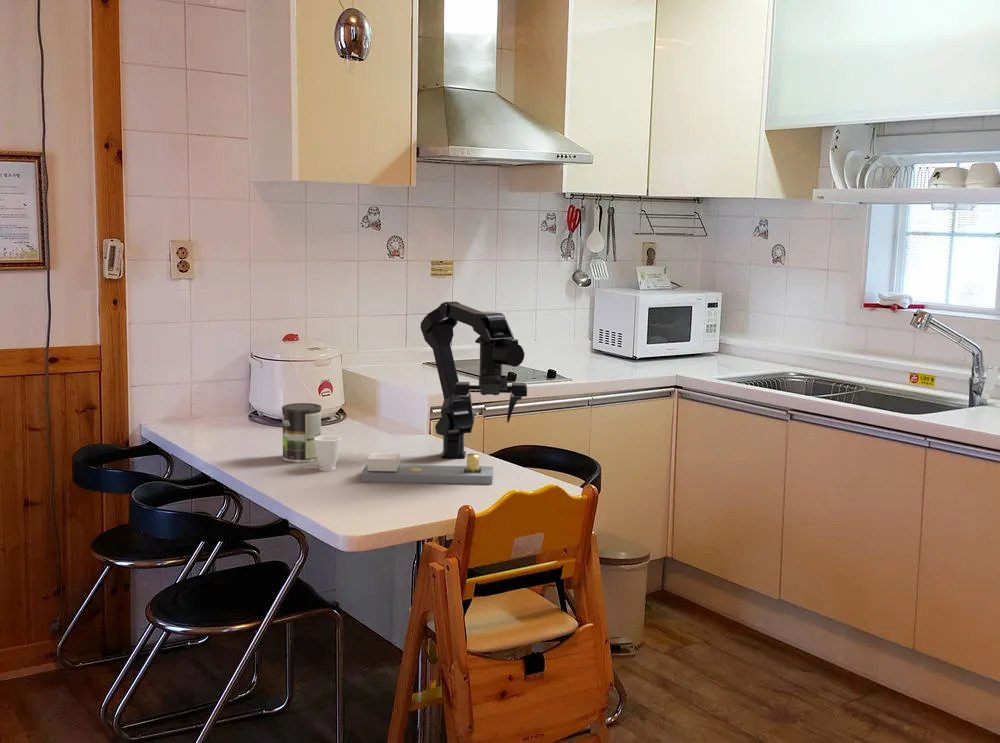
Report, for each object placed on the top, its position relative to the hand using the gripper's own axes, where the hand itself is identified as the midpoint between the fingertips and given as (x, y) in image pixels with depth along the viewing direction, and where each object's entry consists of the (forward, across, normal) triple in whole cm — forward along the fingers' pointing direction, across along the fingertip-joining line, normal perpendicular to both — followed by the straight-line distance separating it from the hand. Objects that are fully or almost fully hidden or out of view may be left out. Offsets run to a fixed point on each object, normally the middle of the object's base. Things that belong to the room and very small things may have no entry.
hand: (490, 422), depth 265 cm
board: (+12, -15, -12) cm, 23 cm away
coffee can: (+12, -50, +7) cm, 52 cm away
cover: (+10, -26, -12) cm, 30 cm away
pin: (+12, -4, -12) cm, 17 cm away
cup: (+12, -42, -3) cm, 44 cm away
